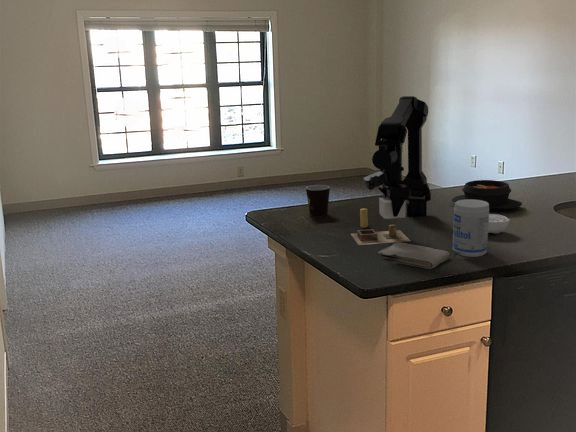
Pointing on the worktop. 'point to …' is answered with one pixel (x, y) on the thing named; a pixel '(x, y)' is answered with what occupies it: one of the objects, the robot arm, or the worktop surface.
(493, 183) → the casserole
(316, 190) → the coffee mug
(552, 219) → the worktop surface
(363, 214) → the peg
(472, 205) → the supplement tub
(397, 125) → the robot arm
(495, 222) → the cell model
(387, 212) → the grey rounded cube
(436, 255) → the washcloth
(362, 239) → the board
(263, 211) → the worktop surface
